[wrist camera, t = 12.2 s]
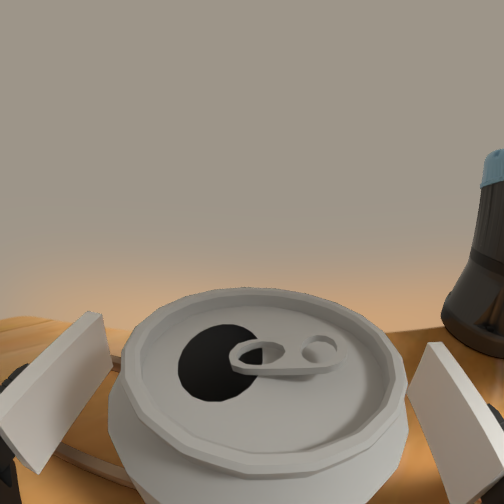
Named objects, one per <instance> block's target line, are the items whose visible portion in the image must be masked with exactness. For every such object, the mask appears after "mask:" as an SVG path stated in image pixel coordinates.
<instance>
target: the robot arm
mask: <svg viewBox="0 0 504 504" xmlns="http://www.w3.org/2000/svg"><path fill="white" fill-rule="evenodd" d="M480 189H481V197H480V204H479V211H478V217H477V222H476V228H475V233H474V238H473V242H472V247H471V252H470V256H469V260H468V263H467V265H466V267H465V269H464V270H463V272H462V274H461V276H460V277H459V279H458V281H457V283H456V285H455V286H454V288H453V290H452V291H451V292H450V293H449V294H448V296H447V297H446V300H445V302H444V305H443V309H442V312H441V319H442V321H443V324H444V325H445V327H446V328H447V329H448V330H449V332H450V333H451V334H453V335H454V336H455V337H456V338H457V339H459V340H460V341H461V342H463V343H464V344H466V345H468V346H469V347H471V348H473V349H475V350H477V351H479V352H482V353H484V354H487V355H490V356H494V357H499V358H504V149H500V150H495V151H493V152H491V153H490V154H489V155H488V156H487V157H486V159H485V162H484V170H483V177H482V183H481V184H480ZM112 368H113V363H112V359H111V355H110V351H109V346H108V342H107V337H106V332H105V327H104V322H103V317H102V314H99V313H94V312H90V311H87V312H86V313H85V314H83V315H82V316H81V317H80V318H79V319H78V320H77V321H76V322H74V323H73V324H72V325H71V326H70V327H69V328H68V329H67V330H66V331H64V332H63V333H62V334H61V335H60V336H59V337H58V338H57V339H56V340H55V341H54V342H53V343H52V344H50V345H49V346H48V347H47V348H46V349H45V350H44V351H43V352H42V353H41V354H40V355H39V356H38V357H37V358H36V359H35V360H34V361H33V362H32V363H31V364H28V363H27V364H25V365H23V366H21V367H19V368H17V369H16V370H15V371H14V372H13V373H12V374H11V375H10V376H9V377H8V379H6V380H5V381H4V382H3V383H2V385H0V504H22V502H21V497H20V492H19V486H18V480H17V473H16V466H15V463H14V461H13V458H14V457H15V456H16V457H17V458H18V459H19V461H20V462H21V463H22V464H23V465H24V466H25V467H27V468H28V469H30V470H31V471H33V472H35V473H36V474H38V475H39V474H40V472H41V471H42V469H43V468H44V466H45V465H46V463H47V461H48V460H49V458H50V457H51V455H52V454H53V452H54V451H55V449H56V448H57V446H58V445H59V443H60V442H61V440H62V439H63V437H64V436H65V434H66V433H67V431H68V430H69V428H70V427H71V425H72V424H73V423H74V421H75V420H76V418H77V417H78V415H79V414H80V412H81V411H82V410H83V408H84V407H85V405H86V404H87V402H88V401H89V400H90V398H91V397H92V395H93V394H94V393H95V391H96V390H97V388H98V387H99V386H100V384H101V383H102V381H103V380H104V379H105V377H106V376H107V375H108V373H109V372H110V370H111V369H112ZM406 394H407V396H408V398H409V400H410V402H411V405H412V407H413V409H414V412H415V414H416V416H417V418H418V421H419V423H420V425H421V428H422V430H423V433H424V435H425V437H426V440H427V442H428V445H429V447H430V450H431V452H432V455H433V458H434V460H435V463H436V465H437V468H438V471H439V474H440V476H441V479H442V482H443V485H444V488H445V491H446V493H447V496H448V499H449V503H450V504H473V503H475V502H476V501H477V500H478V499H479V498H480V499H481V501H482V502H481V503H480V504H504V419H503V418H502V416H501V414H500V413H499V411H498V410H496V409H495V408H494V407H493V406H492V405H490V404H486V403H485V401H484V400H483V398H482V397H481V395H480V394H479V392H478V391H477V389H476V388H475V386H474V385H473V383H472V382H471V381H470V379H469V378H468V376H467V375H466V373H465V372H464V371H463V369H462V368H461V367H460V365H459V364H458V362H457V361H456V360H455V358H454V357H453V356H452V354H451V353H450V352H449V350H448V349H447V348H446V346H445V345H444V344H443V342H428V343H427V346H426V348H425V351H424V353H423V356H422V358H421V360H420V363H419V365H418V367H417V370H416V372H415V374H414V376H413V379H412V381H411V383H410V385H409V387H408V389H407V391H406Z"/></svg>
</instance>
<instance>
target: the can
mask: <svg viewBox="0 0 504 504" xmlns="http://www.w3.org/2000/svg"><path fill="white" fill-rule="evenodd" d="M407 386H408V381H407V377H406V372H405V368H404V364H403V359H402V356H401V355H400V353H399V352H398V351H397V349H396V348H395V346H394V345H393V344H392V342H391V341H390V340H389V338H388V337H387V335H386V334H385V333H384V332H383V331H382V330H380V329H379V328H378V327H376V326H375V325H374V324H373V323H371V322H370V321H368V320H367V319H366V318H365V317H364V316H362V315H360V314H358V313H356V312H354V311H352V310H350V309H348V308H346V307H344V306H342V305H340V304H338V303H335V302H332V301H329V300H326V299H322V298H319V297H316V296H313V295H309V294H306V293H299V292H293V291H287V290H281V289H271V288H251V287H241V288H230V289H217V290H211V291H206V292H203V293H198V294H194V295H189V296H185V297H183V298H181V299H178V300H176V301H174V302H171V303H169V304H167V305H165V306H162V307H160V308H158V309H157V310H156V311H155V312H153V313H152V314H151V315H150V316H148V317H147V318H146V319H145V320H143V321H142V322H141V323H140V324H139V325H137V326H136V327H135V328H134V330H133V332H132V333H131V335H130V337H129V339H128V340H127V342H126V344H125V346H124V348H123V349H122V352H121V371H120V373H119V375H118V377H117V379H116V381H115V383H114V385H113V387H112V389H111V391H110V394H109V399H108V433H109V435H110V438H111V440H112V442H113V444H114V447H115V449H116V451H117V453H118V455H119V457H120V460H121V462H122V464H123V466H124V468H125V470H126V472H127V474H128V475H129V477H130V479H131V481H132V482H133V484H134V486H135V487H136V489H137V491H138V492H139V494H140V495H141V497H142V499H143V500H144V502H145V503H146V504H366V503H367V502H368V501H369V500H370V499H371V497H372V496H373V495H374V494H375V493H376V492H377V491H378V490H379V489H380V488H381V487H382V486H383V484H384V483H385V482H386V481H387V480H388V479H389V478H390V476H391V475H392V474H393V473H394V472H395V470H396V469H397V468H398V465H399V462H400V459H401V456H402V453H403V450H404V446H405V443H406V440H407V436H408V432H409V429H408V421H407V414H406V408H405V401H404V397H405V394H406V390H407Z"/></svg>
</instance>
